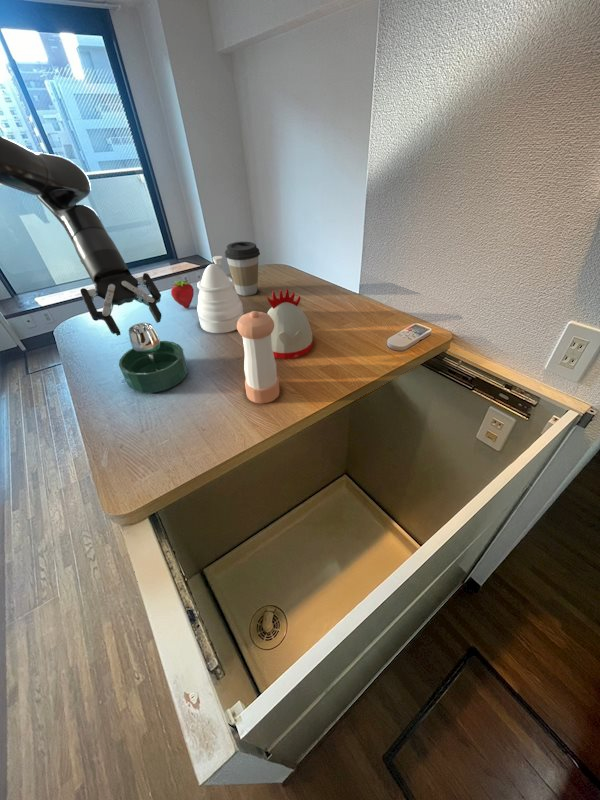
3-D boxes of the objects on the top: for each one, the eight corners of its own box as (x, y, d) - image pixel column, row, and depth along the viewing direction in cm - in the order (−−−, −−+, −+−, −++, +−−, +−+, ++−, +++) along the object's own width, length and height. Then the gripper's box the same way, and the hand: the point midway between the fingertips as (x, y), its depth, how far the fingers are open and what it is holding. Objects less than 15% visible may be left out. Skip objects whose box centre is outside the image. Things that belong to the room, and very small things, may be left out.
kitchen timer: (256, 334, 91) (250, 281, 81) (304, 328, 93) (304, 275, 83) (265, 362, 80) (259, 305, 71) (318, 354, 83) (320, 297, 73)
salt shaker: (248, 406, 68) (235, 323, 56) (244, 385, 74) (232, 305, 61) (282, 400, 70) (277, 318, 57) (276, 380, 75) (270, 301, 62)
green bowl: (118, 395, 71) (108, 375, 68) (139, 360, 82) (132, 341, 78) (180, 394, 72) (173, 374, 68) (194, 359, 82) (189, 340, 78)
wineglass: (139, 379, 75) (119, 332, 67) (154, 365, 79) (137, 320, 71) (160, 383, 74) (143, 336, 66) (175, 369, 78) (160, 323, 70)
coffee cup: (268, 287, 115) (265, 242, 105) (253, 300, 107) (248, 253, 97) (240, 283, 118) (235, 239, 109) (224, 295, 111) (216, 248, 101)
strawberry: (171, 311, 102) (162, 279, 96) (187, 301, 107) (179, 271, 101) (186, 314, 100) (177, 282, 94) (201, 305, 105) (194, 273, 99)
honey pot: (228, 308, 103) (218, 248, 91) (253, 322, 96) (245, 258, 84) (192, 322, 96) (176, 259, 85) (216, 338, 89) (202, 271, 78)
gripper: (60, 255, 62) (102, 332, 63) (135, 240, 68) (173, 310, 69) (67, 276, 68) (105, 345, 69) (135, 260, 75) (169, 323, 76)
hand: (139, 327), depth 69 cm, fingers open, 8 cm apart
